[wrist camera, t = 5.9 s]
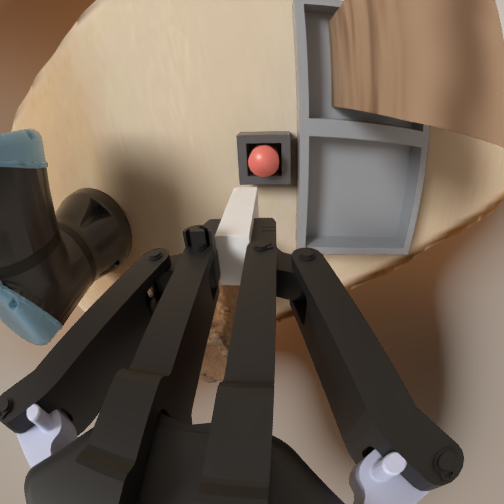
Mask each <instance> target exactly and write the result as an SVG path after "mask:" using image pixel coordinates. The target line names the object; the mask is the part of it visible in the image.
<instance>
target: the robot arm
mask: <svg viewBox="0 0 504 504" xmlns="http://www.w3.org/2000/svg"><path fill="white" fill-rule="evenodd" d="M46 167H48V163H47V162H46V160H45V154H44V148H43V141H42V137H41V135H40V133H39V132H38V131H36V130H34V129H24V130H19V131H14V132H9V133H4V134H0V319H1V321H2V322H4V324H5V325H7V326H8V327H9V328H10V329H11V330H12V331H14V332H15V333H16V334H17V335H19V336H20V337H21V338H23V339H25V340H26V341H28V342H30V343H33V344H35V345H46V344H47V343H49V342H50V341H51V339H52V338H53V337H54V336H55V334H56V333H57V332H58V331H59V330H61V329H62V326H63V325H64V323H65V322H66V320H67V319H68V317H69V316H70V314H71V313H72V311H73V310H74V309H75V307H76V306H77V304H78V303H79V301H80V300H81V299H82V297H83V296H84V294H85V293H86V292H87V290H88V289H89V287H90V286H91V285H92V284H93V282H94V281H95V280H97V279H99V278H101V277H103V276H104V275H106V274H108V273H110V272H112V271H114V270H115V269H117V268H118V267H119V266H120V265H121V264H122V263H123V261H124V260H125V259H126V257H127V256H128V254H129V252H130V249H131V231H130V227H129V224H128V221H127V219H126V217H125V215H124V213H123V212H122V210H121V209H120V207H119V206H118V205H117V204H116V203H115V202H114V201H113V200H112V199H111V198H110V197H109V196H108V195H106V194H104V193H103V192H101V191H98V190H96V189H91V188H83V189H79V190H77V191H75V192H74V193H72V194H71V195H69V196H68V197H67V198H65V199H64V201H63V202H62V203H61V205H60V206H59V208H58V209H57V211H56V213H55V211H54V207H53V202H52V198H51V192H50V187H49V181H48V175H47V168H46ZM183 236H184V241H185V247H186V248H185V250H184V252H183V254H179V255H174V256H169V252H168V251H167V250H165V249H159V248H158V249H153V250H151V251H148V252H147V253H146V254H144V255H143V256H142V257H141V258H140V259H139V260H138V261H137V262H136V263H135V264H134V265H132V266H131V267H130V268H129V269H128V270H127V271H126V272H125V273H124V274H123V275H122V276H121V277H120V278H119V279H118V280H117V281H116V282H115V283H114V284H113V285H112V286H111V287H110V288H109V289H108V290H107V291H106V292H105V293H104V294H103V295H102V296H101V297H100V298H99V299H98V300H97V301H96V302H95V303H94V304H93V305H92V306H91V307H90V308H89V309H88V310H87V311H86V312H85V313H84V314H83V316H82V317H81V318H80V319H79V320H78V321H77V322H76V323H75V324H74V325H73V326H72V327H71V328H70V330H69V331H68V332H67V333H66V334H65V335H64V336H63V337H62V339H61V340H60V341H59V342H58V343H57V344H56V345H55V346H54V348H53V349H52V350H51V351H50V352H49V353H48V355H47V356H46V357H45V358H44V359H43V361H42V362H41V363H40V364H39V365H38V367H37V368H36V369H35V370H34V371H33V372H32V373H30V374H29V375H27V376H26V377H25V378H23V379H22V380H20V381H19V382H18V383H16V384H15V385H14V386H12V387H11V388H10V389H8V390H7V391H6V392H4V393H3V394H2V395H1V396H0V421H1V422H2V423H3V424H4V425H6V426H7V427H8V428H10V429H11V430H12V431H13V432H14V433H16V435H17V438H18V440H19V442H20V445H21V448H22V450H23V452H24V454H25V456H26V459H27V461H28V463H29V465H30V467H31V469H30V471H29V472H28V474H27V476H26V479H25V484H24V490H25V491H24V492H25V497H26V503H27V504H344V502H342V501H341V500H340V499H339V498H338V497H337V496H336V495H335V494H334V493H333V492H332V491H331V490H330V489H329V488H328V487H327V485H326V484H325V483H324V482H323V481H322V480H321V479H320V478H319V477H318V476H317V475H316V474H315V473H314V472H313V471H312V470H311V469H310V467H309V466H308V465H307V464H306V463H305V462H304V461H303V460H302V459H301V458H300V456H299V455H298V454H297V453H296V452H295V451H294V450H293V449H292V448H291V447H290V446H289V445H288V444H286V443H285V442H283V441H282V440H280V439H278V438H276V437H275V436H272V427H273V403H274V374H275V372H274V371H275V333H276V332H275V330H276V329H275V328H276V296H277V297H281V298H285V299H289V300H290V305H291V308H292V310H293V313H294V315H295V318H296V320H297V323H298V325H299V328H300V330H301V332H302V335H303V338H304V340H305V343H306V345H307V348H308V350H309V353H310V355H311V358H312V361H313V363H314V365H315V368H316V371H317V373H318V376H319V378H320V381H321V384H322V386H323V389H324V391H325V393H326V397H327V399H328V402H329V404H330V407H331V410H332V412H333V415H334V417H335V420H336V423H337V425H338V428H339V431H340V433H341V436H342V439H343V441H344V443H345V446H346V448H347V450H348V452H349V454H350V455H351V457H352V459H353V460H354V462H355V463H356V465H355V466H354V468H353V469H352V471H351V472H350V476H349V484H350V486H351V489H352V491H353V493H354V503H353V504H417V503H418V502H419V501H420V500H421V499H422V498H423V497H424V496H425V495H426V494H427V493H428V492H429V491H431V490H433V489H435V488H438V487H440V486H443V485H445V484H448V483H450V482H452V481H453V480H454V479H455V478H456V477H457V476H458V475H459V473H460V471H461V469H462V467H463V462H464V456H463V452H462V449H461V448H460V447H459V445H458V444H457V443H456V442H455V441H454V440H452V439H451V438H450V437H449V436H448V435H447V434H446V433H445V432H443V430H441V429H440V428H439V427H438V426H437V425H436V424H435V423H434V422H433V421H431V420H430V419H429V418H428V417H427V416H426V415H425V414H424V413H423V412H422V411H421V410H419V409H418V408H417V407H416V405H415V404H414V402H413V400H412V398H411V396H410V395H409V393H408V391H407V389H406V387H405V385H404V383H403V382H402V380H401V378H400V376H399V375H398V373H397V371H396V369H395V368H394V366H393V364H392V363H391V361H390V359H389V357H388V356H387V354H386V352H385V351H384V349H383V347H382V346H381V344H380V342H379V341H378V339H377V337H376V336H375V334H374V333H373V331H372V329H371V328H370V326H369V324H368V323H367V321H366V320H365V318H364V317H363V315H362V313H361V312H360V310H359V309H358V307H357V306H356V304H355V302H354V301H353V299H352V298H351V296H350V295H349V293H348V292H347V290H346V289H345V287H344V286H343V284H342V283H341V281H340V280H339V278H338V277H337V275H336V274H335V272H334V271H333V269H332V268H331V266H330V265H329V264H328V262H327V261H326V259H325V258H324V256H323V255H322V253H320V252H319V251H318V250H316V249H314V248H309V247H306V248H299V249H296V250H295V251H293V253H292V255H291V254H287V253H284V252H281V251H280V250H279V249H278V248H277V246H276V222H275V220H274V219H273V218H258V192H257V187H235V188H234V189H233V192H232V194H231V197H230V199H229V202H228V204H227V206H226V209H225V211H224V214H223V216H222V219H211V220H209V221H207V222H206V223H205V224H204V225H195V226H191V227H189V228H187V229H185V230H184V231H183ZM219 279H221V285H240V288H239V293H238V299H237V305H236V311H235V316H234V322H233V328H232V334H231V340H230V345H229V351H228V357H227V363H226V369H225V375H224V380H223V382H220V383H219V386H218V389H217V393H216V399H215V405H214V411H213V416H212V421H211V423H206V424H195V425H192V417H191V413H192V407H193V403H194V398H195V393H196V389H197V385H198V380H199V376H200V372H201V367H202V363H203V359H204V354H205V350H206V346H207V341H208V337H209V333H210V329H211V325H212V321H213V316H214V312H215V308H216V304H217V300H218V296H219V292H220V290H219ZM150 287H151V290H152V294H151V295H150V296H148V293H147V291H148V290H149V288H150ZM99 412H100V413H99ZM98 413H99V415H98ZM97 415H98V418H97V421H96V423H95V426H94V427H93V428H92V429H90V430H89V431H87V432H86V433H84V434H83V435H81V436H80V437H77V436H78V435H79V434H80V433H82V432H83V431H84V430H85V429H86V428H87V427H88V426H89V425H90V424H91V423H92V421H93V420H94V419H95V417H96V416H97Z"/></svg>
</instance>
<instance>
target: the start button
mask: <svg viewBox="0 0 504 504" xmlns="http://www.w3.org/2000/svg"><path fill="white" fill-rule="evenodd" d="M248 165H249V168H250V170H251V171H252V172H253V173H254V174H255V175H257V176H260V177H268V176H271V175H273V174H274V173H275V172H276V171H277V169H278V167H279V153H278V150H277V149H276V147H275V146H273V145H272V144H269V143H260V144H258V145H256V146H255V147H254V148H253V150H252V152H251V154H250V156H249V159H248Z"/></svg>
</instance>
